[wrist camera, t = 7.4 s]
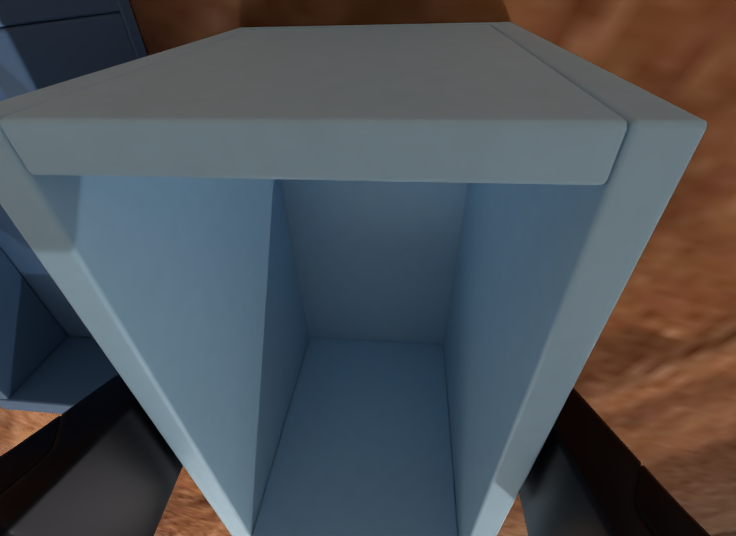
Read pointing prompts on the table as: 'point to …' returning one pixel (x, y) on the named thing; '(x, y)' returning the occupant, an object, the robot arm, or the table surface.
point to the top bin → (347, 255)
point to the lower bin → (3, 239)
